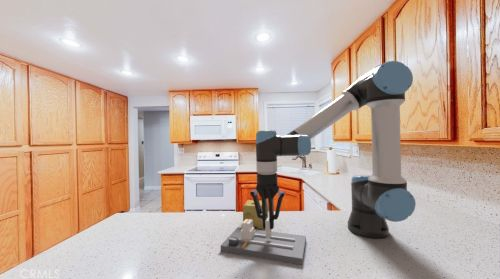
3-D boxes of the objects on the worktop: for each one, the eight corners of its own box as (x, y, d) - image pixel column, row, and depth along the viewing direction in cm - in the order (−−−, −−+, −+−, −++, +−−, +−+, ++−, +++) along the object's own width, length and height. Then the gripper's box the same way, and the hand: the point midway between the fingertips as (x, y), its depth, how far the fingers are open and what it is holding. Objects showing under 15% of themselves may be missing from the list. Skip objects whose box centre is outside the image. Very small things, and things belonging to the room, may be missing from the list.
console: (305, 241, 81) (305, 231, 81) (302, 265, 65) (302, 253, 65) (237, 231, 89) (237, 223, 89) (220, 251, 74) (220, 240, 74)
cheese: (266, 230, 91) (265, 206, 91) (241, 228, 93) (241, 205, 93) (268, 220, 101) (268, 199, 101) (246, 219, 104) (246, 199, 104)
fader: (254, 235, 81) (254, 219, 81) (251, 240, 77) (250, 223, 77) (244, 234, 82) (244, 218, 82) (240, 239, 78) (240, 222, 78)
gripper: (286, 171, 78) (288, 234, 79) (253, 170, 83) (254, 230, 83) (282, 175, 71) (284, 244, 71) (246, 173, 76) (248, 239, 76)
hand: (268, 237), depth 77 cm, fingers closed
